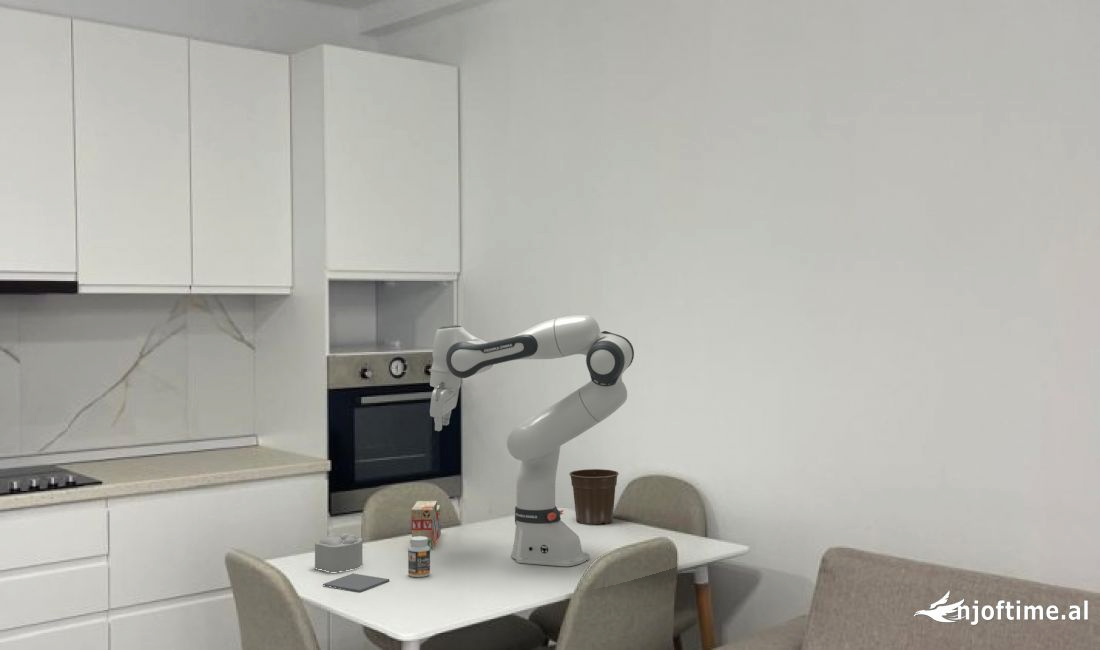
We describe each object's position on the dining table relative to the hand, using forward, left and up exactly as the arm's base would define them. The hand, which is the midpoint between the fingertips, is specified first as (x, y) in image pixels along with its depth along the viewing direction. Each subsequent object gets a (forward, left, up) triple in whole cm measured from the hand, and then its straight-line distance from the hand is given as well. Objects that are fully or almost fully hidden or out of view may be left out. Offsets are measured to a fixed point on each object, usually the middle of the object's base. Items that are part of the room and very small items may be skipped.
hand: (441, 427), depth 313 cm
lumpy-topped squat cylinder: (+14, +29, -36) cm, 48 cm away
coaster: (-1, +41, -36) cm, 54 cm away
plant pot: (-20, -59, -36) cm, 72 cm away
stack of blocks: (+11, -8, -36) cm, 39 cm away
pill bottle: (-10, +26, -36) cm, 46 cm away
